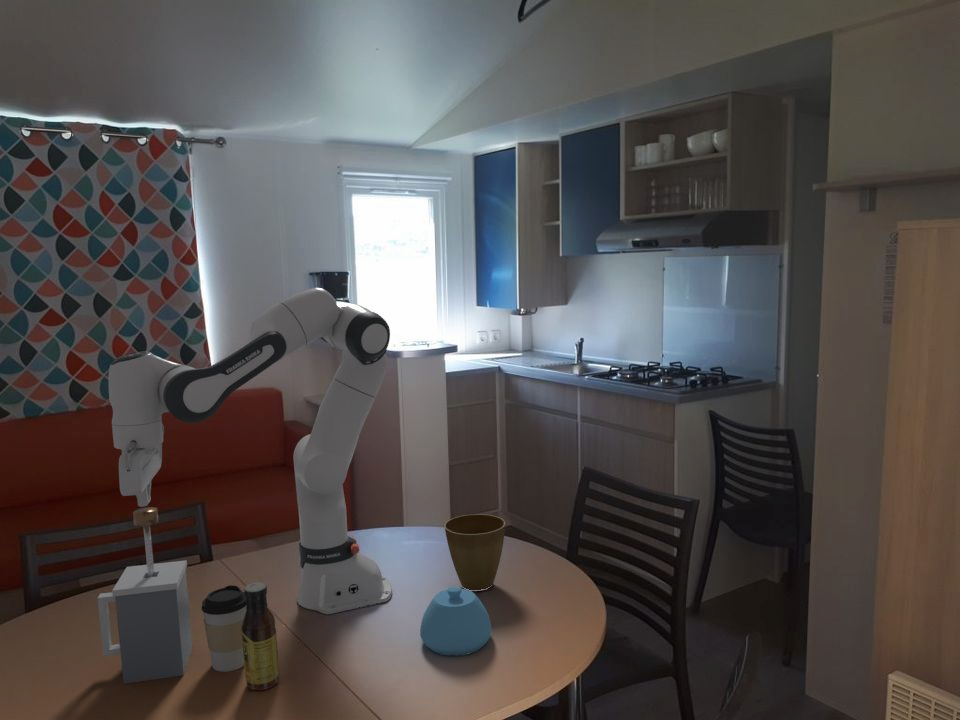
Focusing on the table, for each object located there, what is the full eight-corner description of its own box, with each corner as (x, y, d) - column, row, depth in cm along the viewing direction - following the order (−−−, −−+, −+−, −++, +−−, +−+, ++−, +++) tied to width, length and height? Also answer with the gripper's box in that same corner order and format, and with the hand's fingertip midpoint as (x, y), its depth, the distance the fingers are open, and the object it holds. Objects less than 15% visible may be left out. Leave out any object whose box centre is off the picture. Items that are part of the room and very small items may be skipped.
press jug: (194, 646, 158) (186, 560, 155) (185, 675, 147) (176, 583, 144) (114, 657, 154) (105, 569, 152) (98, 688, 143) (88, 593, 141)
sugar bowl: (500, 628, 162) (499, 578, 160) (478, 664, 148) (476, 609, 146) (436, 620, 167) (434, 570, 165) (409, 653, 152) (406, 600, 151)
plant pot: (518, 580, 186) (516, 518, 184) (486, 604, 173) (484, 538, 171) (468, 569, 194) (466, 509, 192) (434, 591, 181) (432, 527, 179)
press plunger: (168, 607, 152) (159, 506, 149) (164, 617, 148) (154, 513, 145) (145, 610, 151) (135, 508, 148) (140, 620, 147) (130, 515, 144)
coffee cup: (239, 676, 146) (233, 603, 144) (197, 672, 148) (191, 601, 146) (261, 652, 154) (256, 584, 153) (221, 649, 156) (216, 581, 154)
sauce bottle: (250, 675, 146) (242, 579, 143) (282, 673, 146) (275, 577, 144) (242, 694, 139) (234, 594, 137) (276, 692, 140) (269, 591, 137)
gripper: (144, 446, 135) (150, 519, 137) (165, 424, 155) (170, 488, 157) (106, 449, 134) (113, 523, 136) (132, 426, 154) (138, 491, 156)
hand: (144, 504), depth 147 cm, fingers closed
